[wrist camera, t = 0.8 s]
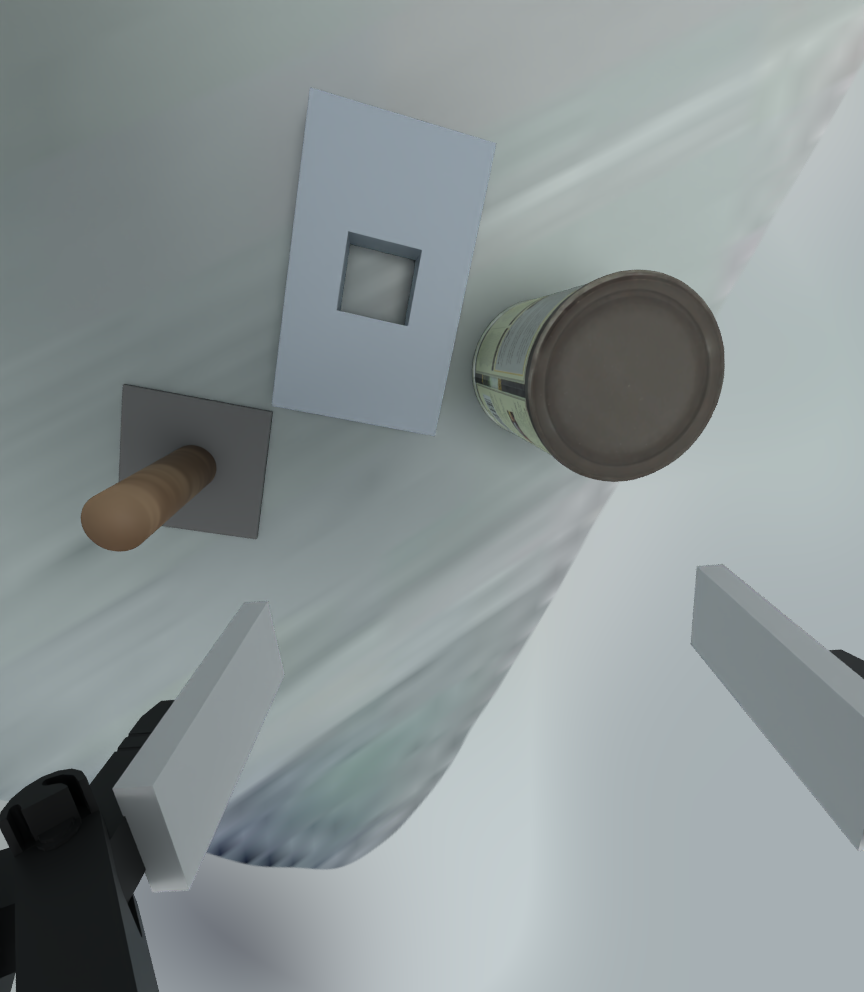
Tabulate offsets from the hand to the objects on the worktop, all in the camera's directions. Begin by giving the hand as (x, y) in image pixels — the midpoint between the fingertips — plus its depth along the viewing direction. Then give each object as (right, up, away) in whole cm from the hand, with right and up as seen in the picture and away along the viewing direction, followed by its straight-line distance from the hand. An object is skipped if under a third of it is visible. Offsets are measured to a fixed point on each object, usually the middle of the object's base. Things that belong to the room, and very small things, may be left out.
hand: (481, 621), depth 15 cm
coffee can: (+6, +14, +23) cm, 27 cm away
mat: (-19, +6, +22) cm, 29 cm away
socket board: (-5, +19, +20) cm, 28 cm away
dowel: (-19, +6, +21) cm, 29 cm away
